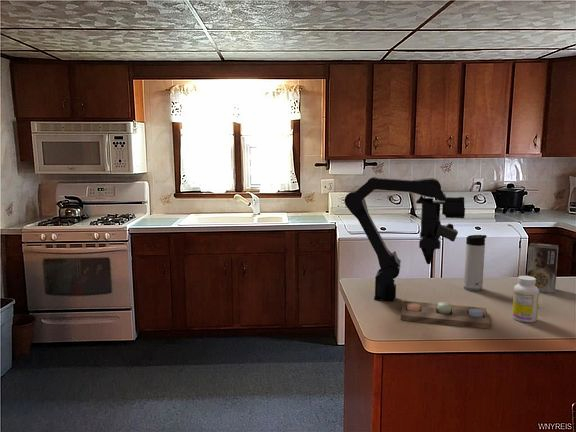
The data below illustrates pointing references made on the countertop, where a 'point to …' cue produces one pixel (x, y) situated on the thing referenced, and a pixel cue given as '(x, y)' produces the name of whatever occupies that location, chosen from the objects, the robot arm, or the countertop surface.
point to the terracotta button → (413, 307)
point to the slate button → (475, 313)
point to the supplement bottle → (525, 299)
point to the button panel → (445, 315)
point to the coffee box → (543, 265)
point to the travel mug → (474, 262)
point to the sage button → (444, 308)
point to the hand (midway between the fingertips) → (428, 263)
